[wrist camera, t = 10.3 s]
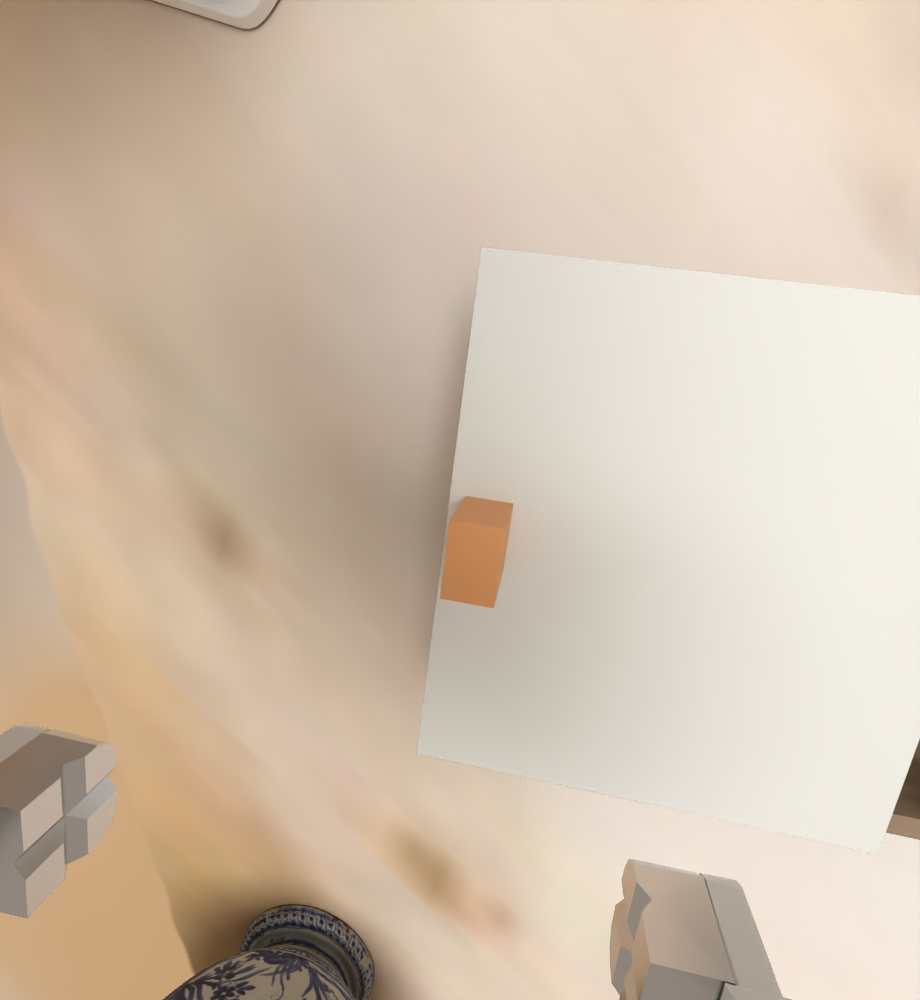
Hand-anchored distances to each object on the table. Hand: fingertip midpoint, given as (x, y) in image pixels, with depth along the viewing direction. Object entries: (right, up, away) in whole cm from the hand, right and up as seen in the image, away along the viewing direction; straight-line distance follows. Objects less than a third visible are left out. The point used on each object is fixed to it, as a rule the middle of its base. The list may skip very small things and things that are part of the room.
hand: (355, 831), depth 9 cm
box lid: (+11, +2, +16) cm, 20 cm away
